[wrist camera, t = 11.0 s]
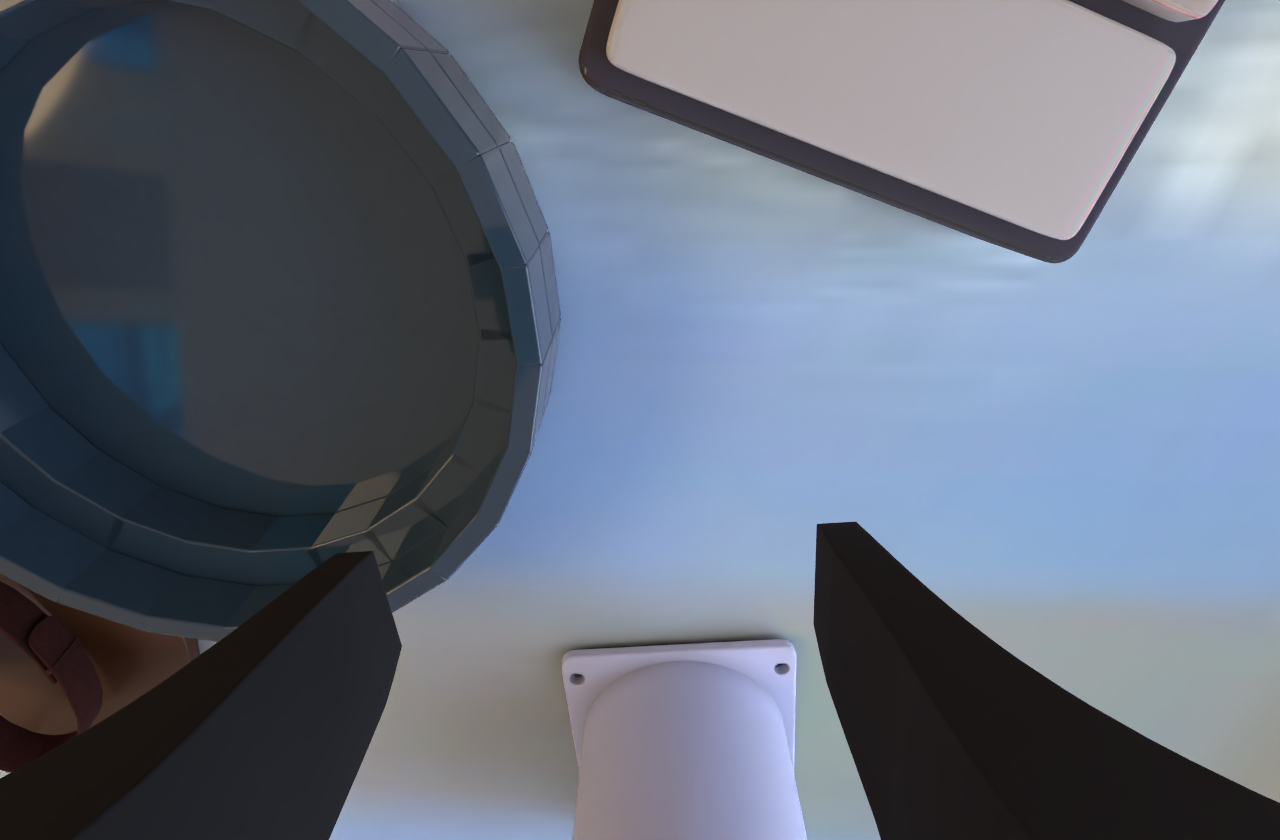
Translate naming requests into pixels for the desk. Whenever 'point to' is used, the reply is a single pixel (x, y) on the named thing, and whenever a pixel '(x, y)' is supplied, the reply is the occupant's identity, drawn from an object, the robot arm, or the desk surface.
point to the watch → (59, 662)
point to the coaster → (117, 654)
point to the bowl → (255, 305)
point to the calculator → (916, 96)
